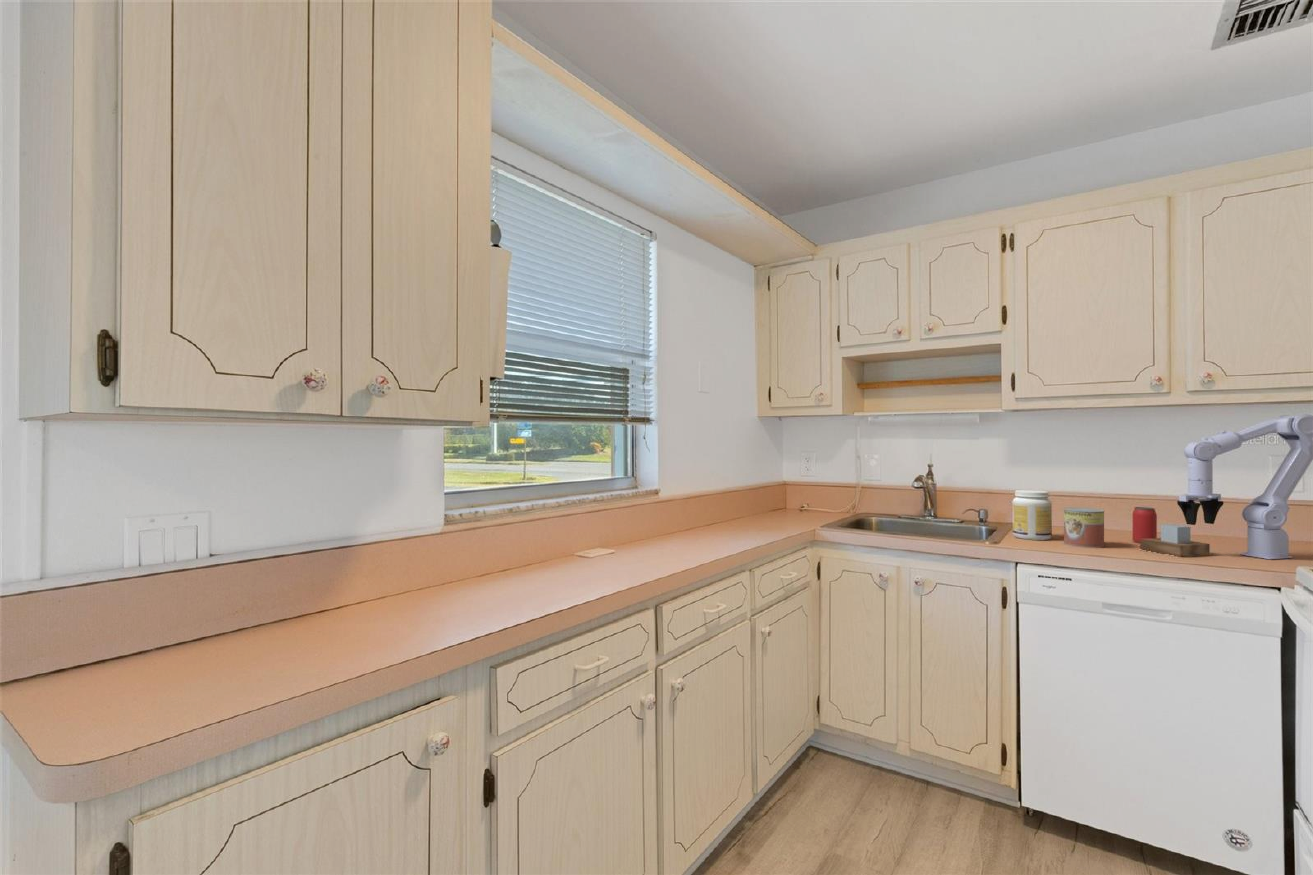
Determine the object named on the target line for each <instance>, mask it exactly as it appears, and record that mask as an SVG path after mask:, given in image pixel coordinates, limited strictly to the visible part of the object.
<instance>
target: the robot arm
mask: <svg viewBox="0 0 1313 875" xmlns="http://www.w3.org/2000/svg"><path fill="white" fill-rule="evenodd" d="M1270 434H1277V435H1278V436H1279V437H1280V438H1281V439H1283V441H1285V442H1286V443H1287V445H1288V447H1290V448H1289V451H1288V453H1287V454H1286V456H1285V457H1284V459H1283V461H1281V464H1280V465H1279V467H1278V469H1277V471H1276V472H1275V473H1274V475H1273V477H1272V478H1271V480H1270V481H1269V483H1268V485H1267V486H1266V487H1265V490H1264V491H1263V493H1262V494H1260V495H1258V496H1257V497H1255V498H1253V500H1252V501H1251V502H1250V503H1249V504H1247V505H1245V506H1244V508H1243V509H1242V511H1241V512H1242V513H1241V516H1242V518H1243V520H1244V521H1245V522H1246V526H1247V530H1246V531H1247V535H1246V537H1247V538H1246V540H1247V542H1246V543H1247V546H1246V547H1247V552H1239V555H1240V554H1241V556H1247V557H1254V558H1258V559H1259V558H1260V559H1267V560H1280V559H1292V558H1293V556H1291V555H1290V554H1289V552H1290V551H1289V550H1290V549H1289V546H1290V544H1289V543H1290V542H1289V541H1290V540H1289V539H1290V538H1289V534H1288V533H1287V531H1286V530H1284V529H1283V528H1282V527H1283V526H1284V525H1285V524H1286V522H1287V519H1288V512H1289V511H1290V506H1289V505H1288V503H1287V502H1288V499H1289V498H1290V497H1291V495H1292V494H1293V492H1294V490H1295V488H1296V487H1297V486H1298V484H1299V482H1300V481H1301V479H1302V477H1303V476H1304V474H1305V473H1306V471H1307V469H1308V468H1309V466H1310V465H1311V463H1313V462H1312V461H1313V415H1312V414H1307V413H1306V414H1301V415H1300V414H1294V415H1289V414H1288V415H1285V414H1283V415H1280V416H1278V417H1272V418H1269V419H1267V420H1264V421H1262V422H1259V423H1257V424H1254V425H1252V426H1249V427H1247V428H1244V429H1242V430H1239V431H1236V432H1235V431H1232V430H1221V431H1218V434H1216V435H1213V436H1209V437H1203V438H1201V441H1191V442H1189V443H1188V444H1187V445H1186V447H1185V449H1183V454H1184V457H1186V459H1187V493H1185V494H1179V496H1178V497H1179V498H1178V500H1177V501H1176V504H1177V505H1178V507H1179V508H1180V510H1181V512H1182V514H1183V517H1184V520H1185V522H1186V525H1190V526H1191V525H1192V526H1195V525H1196V524H1197V520H1198V519H1197V518H1198V512H1199V509H1200V507H1201V508H1202V513H1203V521H1204V524H1209V525H1213V524H1214V525H1215V521H1216V518H1217V515H1218V513H1219V512H1220V510H1221V508H1222V507H1223V505H1224V500H1223V501H1221V500H1222V494H1221V493H1213V484H1214V483H1213V480H1214V479H1213V475H1214V473H1213V470H1214V469H1213V460H1214V459H1216V458H1217V457H1218V456H1219V455H1223V454H1225V453H1228V452H1232V451H1233V450H1236V449H1239V448H1240V447H1242V444H1243V443H1245V442H1248V441H1250V440H1255V439H1256V438H1259V437H1263V436H1266V435H1270Z"/></svg>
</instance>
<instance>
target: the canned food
mask: <svg viewBox="0 0 1313 875" xmlns="http://www.w3.org/2000/svg"><path fill="white" fill-rule="evenodd" d="M1063 545H1065V546H1070V547H1076V548H1085V549H1102V548H1105V510H1104V509H1099V508H1089V507H1064V508H1063Z"/></svg>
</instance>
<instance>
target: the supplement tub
mask: <svg viewBox="0 0 1313 875" xmlns="http://www.w3.org/2000/svg"><path fill="white" fill-rule="evenodd" d="M1014 496H1015V497H1014V498H1013V499H1012V501H1011V502H1012V503H1011V504H1012V508H1011V509H1012V515H1011V517H1012V536H1013V537H1015V538H1016V539H1021V540H1028V541H1030V540H1031V541H1048V540H1051V538H1052V537H1053V534H1052V532H1053V527H1052V525H1053V524H1052V523H1053V522H1052V520H1053V515H1052V514H1053V512H1052V511H1053V510H1052V508H1053V507H1052V506H1053V504H1052V501H1051V500H1050V499H1049V497H1050V495H1049V491H1048V490H1047V491H1046V490H1034V489H1033V490H1032V489H1030V490H1029V489H1018V490H1017V489H1016V490H1015V491H1014Z"/></svg>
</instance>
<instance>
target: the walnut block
mask: <svg viewBox="0 0 1313 875" xmlns="http://www.w3.org/2000/svg"><path fill="white" fill-rule="evenodd" d="M1210 545H1211V544H1210V543H1207V542H1206V543H1205V542H1200V541H1193V540H1190V543H1172V542H1166V541H1161V537H1157V538H1152V539H1140V543H1139V550H1140V549H1142V550H1146V551H1145V552H1148V551H1151V552H1150V553H1153V552H1156V553H1155V554H1159V553H1160V554H1161V555H1164V554H1169V555H1168V556H1170V555H1174V556H1173V557H1176V556H1177V558H1190V557H1191V556H1193V557H1200V556H1199V555H1207V556H1210V555H1209V554H1211V553H1210V552H1211V550H1210V549H1211V548H1210ZM1142 550H1141V551H1142Z"/></svg>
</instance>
